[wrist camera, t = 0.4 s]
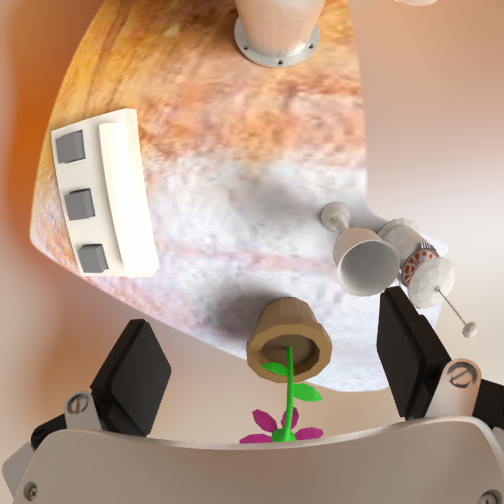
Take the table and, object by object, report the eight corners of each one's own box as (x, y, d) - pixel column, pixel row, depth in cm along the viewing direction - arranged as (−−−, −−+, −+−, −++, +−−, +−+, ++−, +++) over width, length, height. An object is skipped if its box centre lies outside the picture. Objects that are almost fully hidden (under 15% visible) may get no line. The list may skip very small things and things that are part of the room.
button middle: (73, 191, 42) (64, 196, 39) (92, 188, 42) (82, 192, 39) (78, 215, 44) (69, 220, 41) (97, 212, 44) (87, 218, 41)
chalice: (355, 194, 43) (401, 235, 27) (358, 233, 46) (398, 290, 29) (311, 199, 44) (335, 244, 27) (315, 239, 47) (337, 301, 30)
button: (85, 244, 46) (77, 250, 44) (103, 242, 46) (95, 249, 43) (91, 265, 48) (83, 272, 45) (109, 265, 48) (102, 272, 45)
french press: (426, 220, 44) (514, 294, 21) (412, 277, 48) (476, 369, 26) (378, 216, 44) (458, 299, 21) (367, 277, 49) (419, 381, 26)
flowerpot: (243, 339, 56) (224, 476, 29) (258, 280, 50) (244, 434, 23) (310, 350, 57) (324, 482, 30) (334, 295, 51) (375, 440, 24)
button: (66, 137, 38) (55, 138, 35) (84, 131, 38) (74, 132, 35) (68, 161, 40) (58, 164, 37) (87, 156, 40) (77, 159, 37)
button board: (64, 129, 40) (36, 134, 33) (136, 109, 39) (111, 107, 32) (91, 266, 52) (70, 286, 45) (159, 265, 51) (142, 288, 43)
